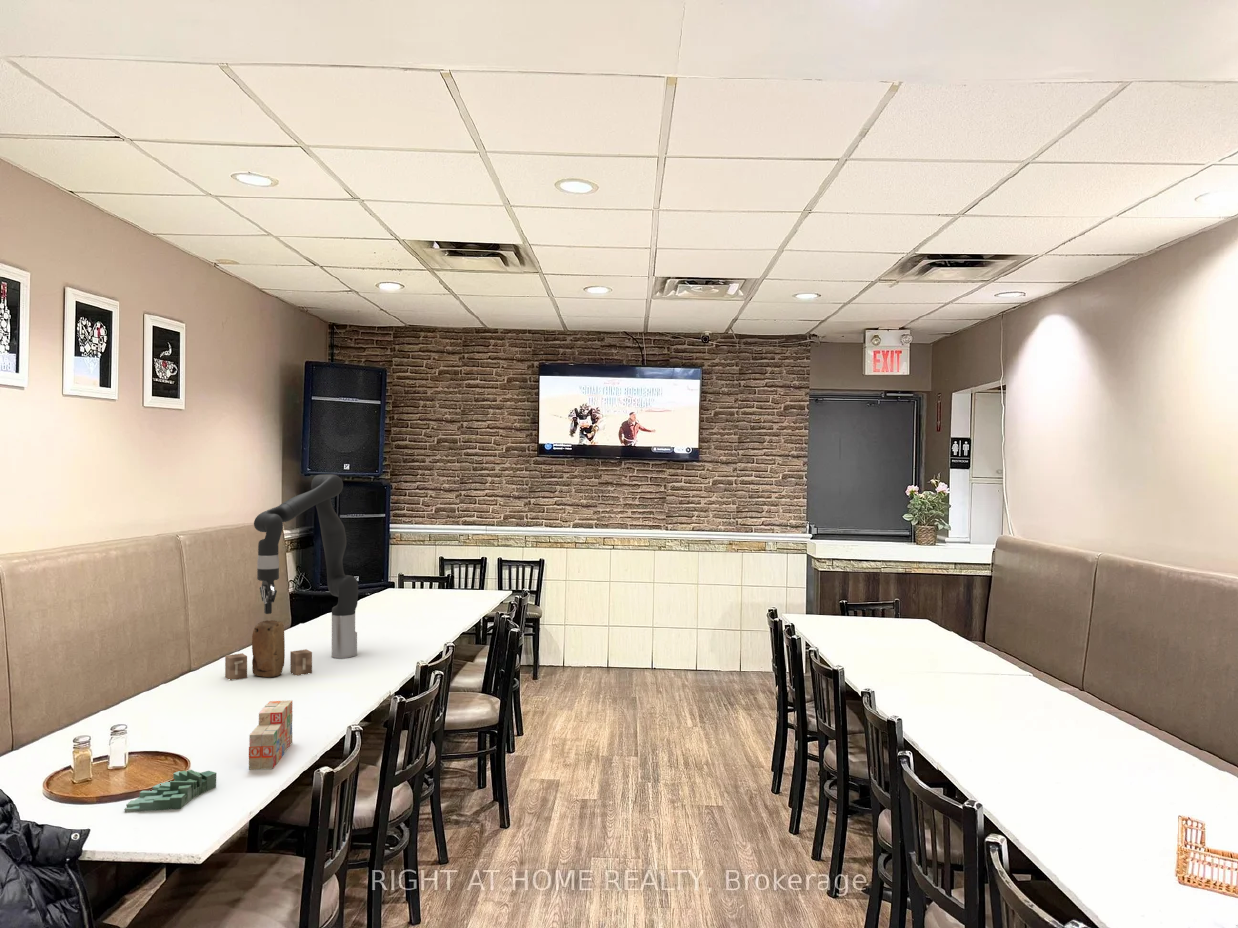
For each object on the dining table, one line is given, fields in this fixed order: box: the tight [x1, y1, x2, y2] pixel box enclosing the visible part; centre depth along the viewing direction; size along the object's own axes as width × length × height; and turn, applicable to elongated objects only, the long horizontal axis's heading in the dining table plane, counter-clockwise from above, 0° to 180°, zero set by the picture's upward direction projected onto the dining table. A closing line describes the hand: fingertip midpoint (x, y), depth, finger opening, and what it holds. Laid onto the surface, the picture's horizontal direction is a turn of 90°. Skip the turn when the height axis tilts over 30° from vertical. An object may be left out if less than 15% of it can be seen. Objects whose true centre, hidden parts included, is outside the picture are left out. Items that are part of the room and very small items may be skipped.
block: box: [251, 619, 286, 678], centre depth 315 cm, size 11×8×20 cm
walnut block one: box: [289, 648, 313, 676], centre depth 319 cm, size 6×6×8 cm
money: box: [124, 769, 217, 813], centre depth 203 cm, size 20×16×5 cm
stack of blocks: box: [248, 699, 293, 771], centre depth 230 cm, size 21×6×12 cm, turn 9°
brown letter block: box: [224, 652, 248, 681], centre depth 312 cm, size 6×6×8 cm
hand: (267, 613), depth 315 cm, fingers closed
